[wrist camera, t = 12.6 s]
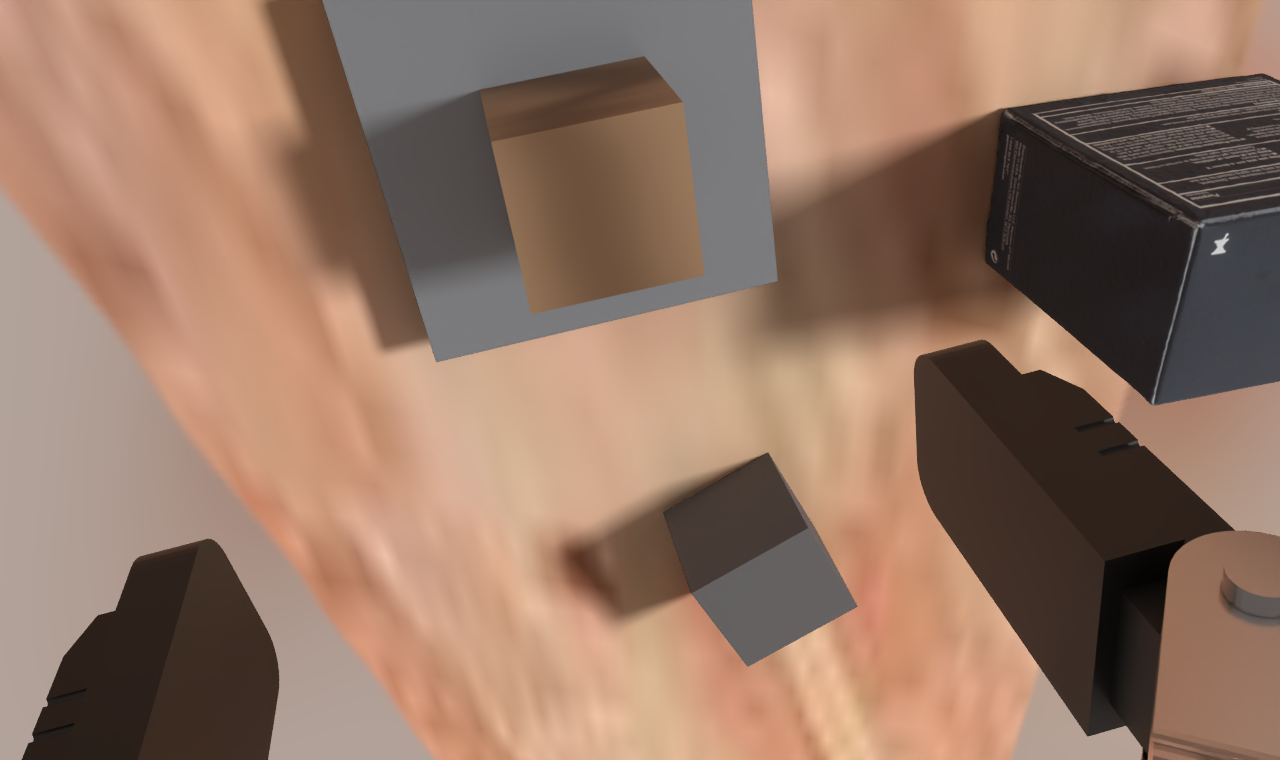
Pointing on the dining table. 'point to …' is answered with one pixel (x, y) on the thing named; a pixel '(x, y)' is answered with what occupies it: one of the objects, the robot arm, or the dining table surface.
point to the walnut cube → (595, 182)
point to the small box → (1150, 229)
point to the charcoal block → (756, 561)
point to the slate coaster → (465, 164)
